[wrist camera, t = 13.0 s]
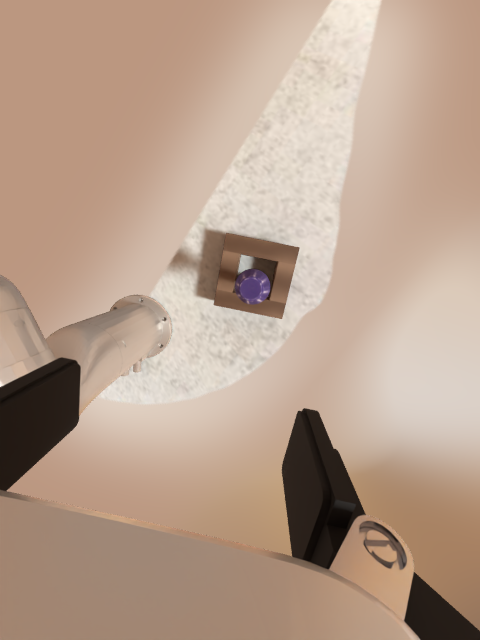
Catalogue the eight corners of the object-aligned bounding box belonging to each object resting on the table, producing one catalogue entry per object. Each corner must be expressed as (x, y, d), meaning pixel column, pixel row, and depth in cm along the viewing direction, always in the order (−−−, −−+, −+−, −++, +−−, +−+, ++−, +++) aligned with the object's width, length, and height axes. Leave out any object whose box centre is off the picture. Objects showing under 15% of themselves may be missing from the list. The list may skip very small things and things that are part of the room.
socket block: (279, 314, 46) (282, 319, 42) (217, 301, 46) (213, 305, 42) (295, 248, 43) (299, 247, 39) (228, 235, 43) (226, 232, 39)
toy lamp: (237, 278, 45) (223, 288, 29) (257, 261, 44) (253, 261, 28) (254, 298, 45) (249, 318, 29) (274, 281, 44) (280, 293, 28)
